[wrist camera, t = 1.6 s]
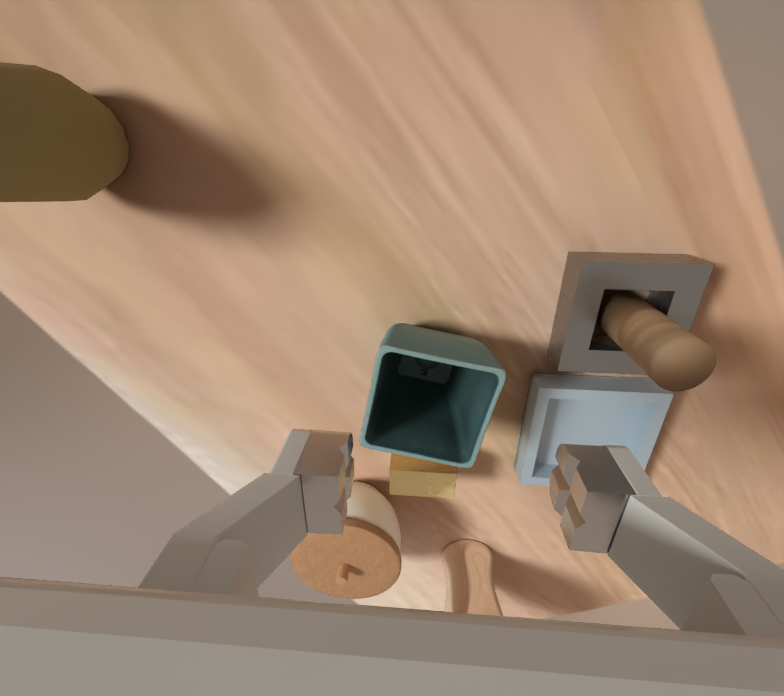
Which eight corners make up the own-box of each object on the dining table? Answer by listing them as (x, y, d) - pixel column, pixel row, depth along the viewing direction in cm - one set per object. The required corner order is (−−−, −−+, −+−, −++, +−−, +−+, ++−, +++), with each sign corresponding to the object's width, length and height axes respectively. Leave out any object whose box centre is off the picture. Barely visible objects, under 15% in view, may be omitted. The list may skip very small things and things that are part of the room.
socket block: (568, 251, 31) (582, 261, 28) (688, 254, 30) (714, 264, 28) (547, 354, 35) (557, 370, 32) (653, 358, 34) (672, 375, 32)
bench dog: (393, 434, 40) (389, 470, 36) (453, 437, 40) (456, 474, 35) (393, 457, 42) (389, 494, 37) (450, 460, 41) (454, 498, 37)
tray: (532, 373, 36) (539, 387, 34) (658, 378, 35) (674, 394, 33) (514, 465, 41) (519, 484, 39) (624, 472, 40) (636, 491, 38)
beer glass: (455, 528, 46) (467, 686, 32) (507, 549, 46) (541, 710, 33) (427, 563, 49) (428, 720, 35) (477, 581, 50) (497, 742, 36)
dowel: (596, 286, 32) (662, 339, 23) (641, 287, 32) (725, 341, 23) (586, 326, 34) (645, 389, 25) (629, 327, 33) (704, 392, 24)
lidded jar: (424, 498, 44) (424, 580, 35) (368, 546, 48) (356, 630, 40) (344, 448, 42) (324, 523, 33) (292, 503, 46) (263, 582, 37)
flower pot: (388, 298, 34) (377, 344, 26) (489, 319, 34) (509, 372, 26) (371, 384, 38) (357, 447, 30) (462, 403, 38) (472, 470, 30)
